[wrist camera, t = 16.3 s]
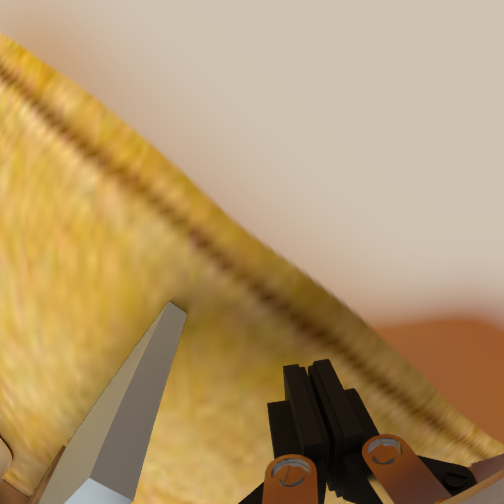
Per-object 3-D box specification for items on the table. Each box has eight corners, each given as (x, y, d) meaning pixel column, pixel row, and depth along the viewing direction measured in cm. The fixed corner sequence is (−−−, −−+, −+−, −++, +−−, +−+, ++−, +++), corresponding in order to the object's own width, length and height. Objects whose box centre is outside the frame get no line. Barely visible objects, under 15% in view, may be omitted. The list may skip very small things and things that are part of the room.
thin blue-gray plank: (80, 451, 16) (36, 556, 7) (68, 443, 16) (19, 547, 6) (187, 314, 14) (133, 500, 4) (169, 300, 14) (89, 478, 4)
